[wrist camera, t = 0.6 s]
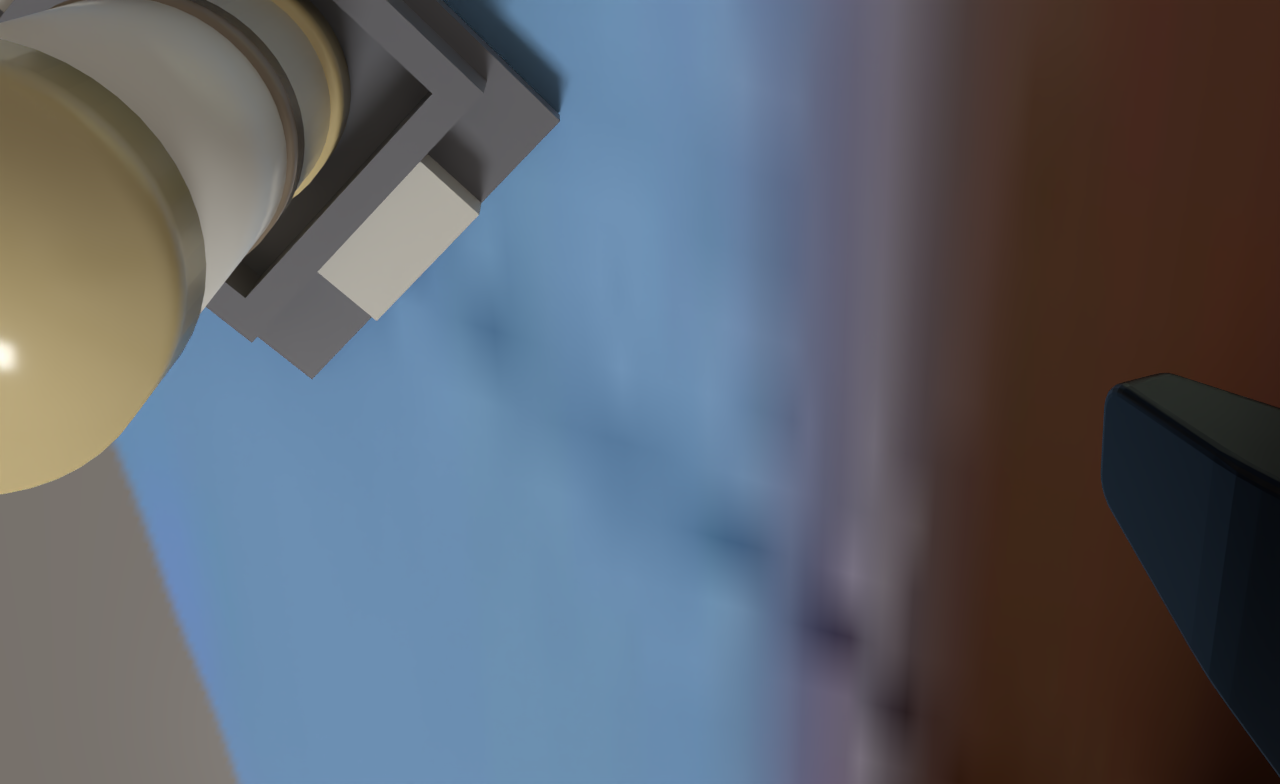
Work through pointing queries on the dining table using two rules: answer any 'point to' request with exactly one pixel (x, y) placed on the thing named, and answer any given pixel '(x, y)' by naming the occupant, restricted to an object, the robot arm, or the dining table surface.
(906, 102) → the dining table surface
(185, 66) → the beige round cylinder
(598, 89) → the dining table surface
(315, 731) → the dining table surface
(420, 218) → the fuse block
